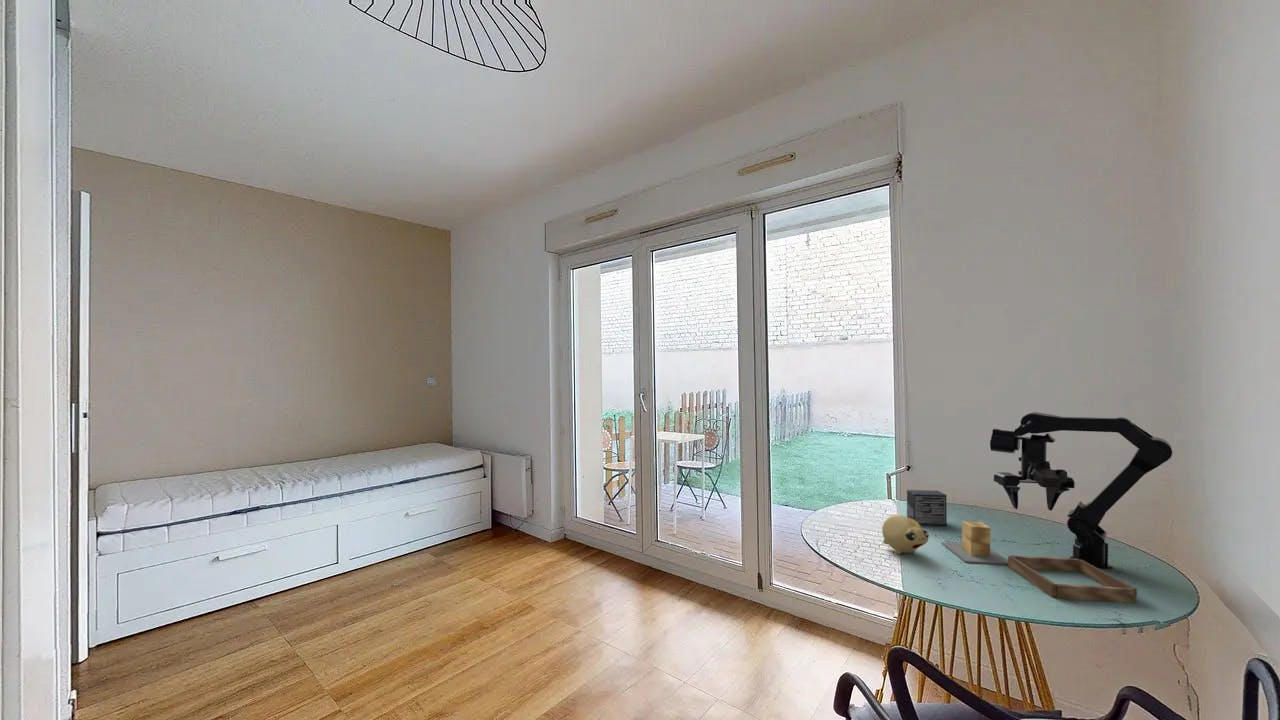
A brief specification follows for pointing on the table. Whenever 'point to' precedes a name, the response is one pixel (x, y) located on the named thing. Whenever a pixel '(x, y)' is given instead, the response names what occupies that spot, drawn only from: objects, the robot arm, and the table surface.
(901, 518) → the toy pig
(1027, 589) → the table surface
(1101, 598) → the wooden picture frame
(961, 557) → the mat
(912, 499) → the small box
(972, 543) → the ochre block
